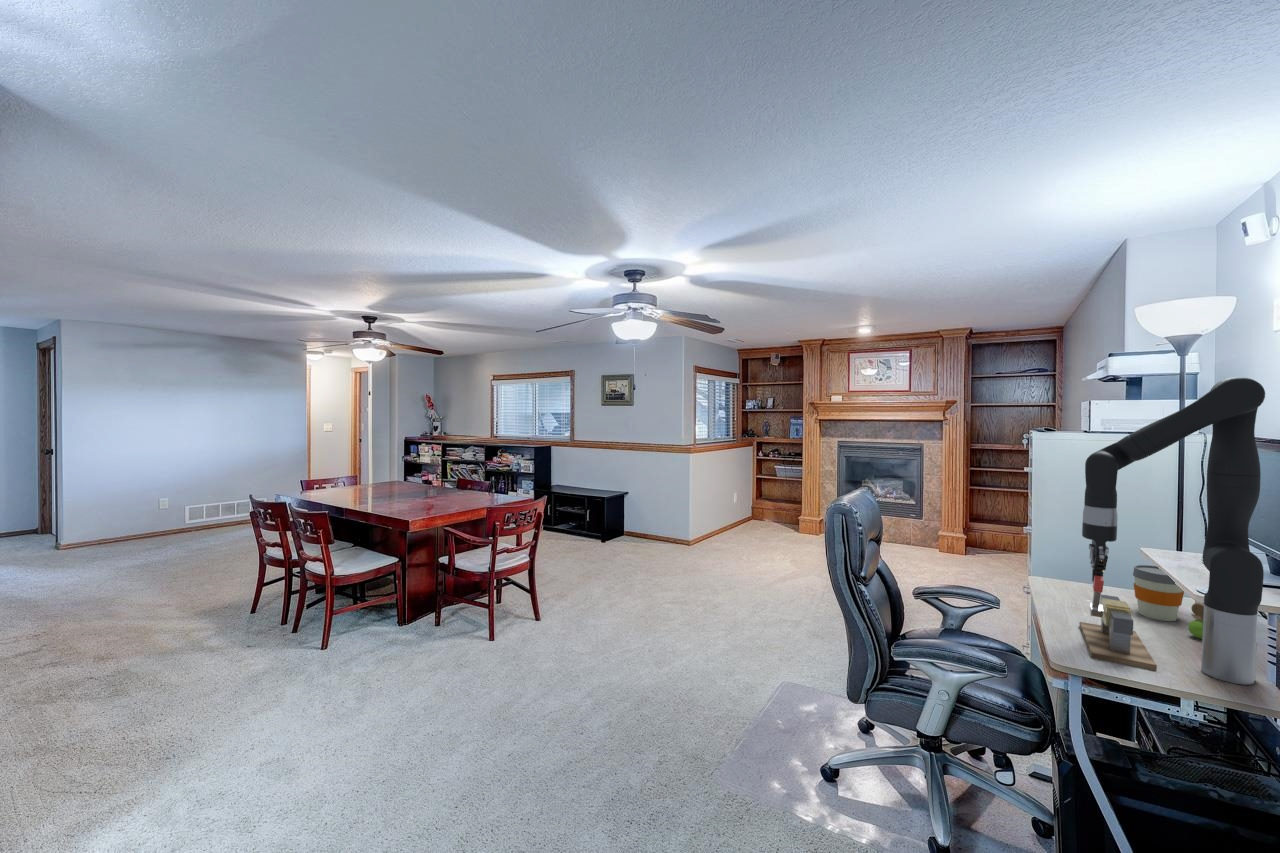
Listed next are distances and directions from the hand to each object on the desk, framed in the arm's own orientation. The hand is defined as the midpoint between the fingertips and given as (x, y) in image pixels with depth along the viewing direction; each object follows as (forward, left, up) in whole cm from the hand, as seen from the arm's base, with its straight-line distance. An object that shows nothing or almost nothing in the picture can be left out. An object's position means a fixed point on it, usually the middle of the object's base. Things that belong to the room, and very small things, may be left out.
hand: (1097, 582), depth 156 cm
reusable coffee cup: (-44, -13, -18) cm, 50 cm away
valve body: (-5, +2, -17) cm, 17 cm away
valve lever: (-2, -2, -10) cm, 10 cm away
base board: (-5, +2, -18) cm, 19 cm away
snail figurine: (-36, +4, -18) cm, 41 cm away
